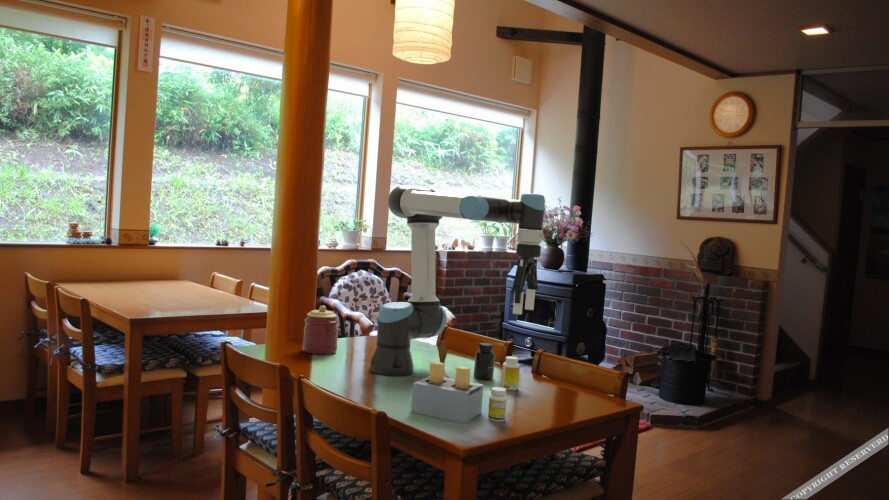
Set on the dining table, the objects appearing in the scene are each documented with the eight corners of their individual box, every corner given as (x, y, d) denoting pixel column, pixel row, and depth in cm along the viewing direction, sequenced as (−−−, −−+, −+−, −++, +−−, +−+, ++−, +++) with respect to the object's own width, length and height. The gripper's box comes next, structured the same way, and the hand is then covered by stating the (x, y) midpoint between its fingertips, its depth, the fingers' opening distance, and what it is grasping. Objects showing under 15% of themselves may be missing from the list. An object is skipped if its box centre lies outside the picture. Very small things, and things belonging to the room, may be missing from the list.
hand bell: (434, 395, 198) (438, 343, 197) (422, 388, 205) (426, 338, 205) (458, 394, 202) (462, 343, 201) (446, 387, 209) (449, 338, 208)
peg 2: (451, 395, 179) (453, 368, 178) (457, 392, 182) (459, 365, 182) (465, 398, 177) (467, 370, 177) (470, 395, 181) (472, 368, 180)
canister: (309, 346, 256) (312, 302, 255) (341, 350, 254) (344, 305, 253) (297, 353, 243) (300, 305, 242) (330, 356, 241) (334, 309, 240)
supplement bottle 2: (490, 415, 182) (492, 385, 181) (506, 418, 180) (509, 388, 180) (486, 420, 177) (488, 389, 177) (503, 423, 176) (505, 392, 175)
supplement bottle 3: (521, 390, 213) (523, 359, 212) (506, 391, 210) (509, 359, 210) (512, 385, 218) (514, 355, 217) (497, 386, 215) (500, 355, 215)
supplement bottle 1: (491, 381, 221) (494, 346, 221) (471, 379, 223) (474, 344, 222) (494, 377, 228) (497, 343, 227) (475, 375, 229) (477, 341, 229)
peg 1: (425, 390, 182) (427, 363, 182) (431, 387, 186) (433, 361, 185) (438, 392, 180) (440, 365, 180) (444, 389, 184) (446, 363, 184)
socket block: (411, 411, 180) (413, 382, 179) (430, 402, 190) (432, 375, 190) (464, 423, 173) (466, 393, 172) (481, 412, 184) (483, 384, 183)
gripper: (530, 244, 190) (523, 317, 191) (550, 244, 213) (544, 309, 214) (505, 242, 193) (499, 314, 194) (528, 242, 216) (522, 306, 217)
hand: (523, 311), depth 204 cm, fingers open, 13 cm apart
